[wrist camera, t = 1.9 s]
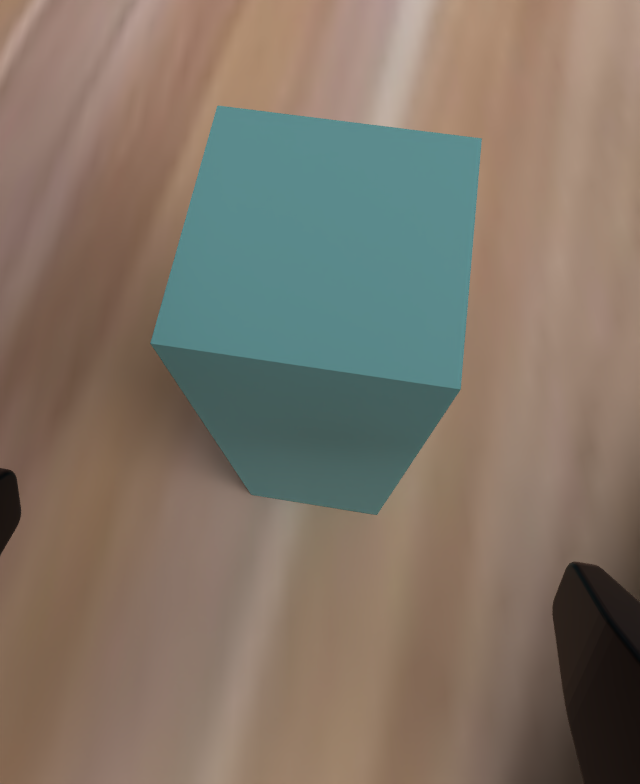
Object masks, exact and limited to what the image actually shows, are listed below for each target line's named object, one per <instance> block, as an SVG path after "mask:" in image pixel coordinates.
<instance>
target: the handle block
mask: <svg viewBox="0 0 640 784" xmlns="http://www.w3.org/2000/svg"><path fill="white" fill-rule="evenodd" d="M481 140H482V139H481V138H473V137H465V136H457V135H449V134H441V133H433V132H425V131H417V130H409V129H401V128H393V127H385V126H377V125H369V124H361V123H353V122H345V121H337V120H329V119H321V118H313V117H305V116H297V115H289V114H281V113H273V112H265V111H256V110H248V109H240V108H232V107H224V106H217V109H216V113H215V116H214V120H213V123H212V127H211V131H210V134H209V138H208V141H207V145H206V148H205V152H204V155H203V159H202V162H201V166H200V170H199V173H198V177H197V180H196V184H195V187H194V191H193V194H192V198H191V201H190V205H189V208H188V212H187V216H186V219H185V223H184V226H183V230H182V233H181V237H180V240H179V244H178V247H177V251H176V255H175V258H174V262H173V265H172V269H171V272H170V276H169V279H168V283H167V286H166V290H165V293H164V297H163V301H162V304H161V308H160V311H159V315H158V318H157V322H156V325H155V329H154V332H153V336H152V340H151V343H150V344H151V345H152V347H153V348H154V350H155V351H156V353H157V354H158V356H159V357H160V359H161V360H162V362H163V363H164V365H165V366H166V368H167V369H168V371H169V372H170V374H171V375H172V377H173V378H174V380H175V381H176V383H177V384H178V386H179V387H180V389H181V390H182V392H183V393H184V395H185V396H186V398H187V399H188V401H189V402H190V404H191V405H192V407H193V408H194V410H195V411H196V413H197V414H198V416H199V417H200V419H201V420H202V422H203V423H204V425H205V426H206V428H207V429H208V431H209V432H210V434H211V435H212V437H213V438H214V440H215V441H216V443H217V444H218V446H219V447H220V449H221V450H222V452H223V453H224V455H225V456H226V458H227V459H228V461H229V462H230V464H231V465H232V467H233V468H234V470H235V471H236V473H237V474H238V476H239V477H240V479H241V480H242V482H243V483H244V485H245V486H246V488H247V489H248V490H249V492H250V493H251V495H256V496H262V497H269V498H275V499H281V500H287V501H293V502H300V503H306V504H312V505H318V506H324V507H331V508H337V509H343V510H349V511H355V512H362V513H368V514H374V515H377V514H378V512H379V511H380V509H381V508H382V506H383V505H384V503H385V502H386V500H387V499H388V497H389V496H390V494H391V493H392V491H393V490H394V488H395V487H396V485H397V484H398V482H399V481H400V479H401V478H402V476H403V475H404V473H405V472H406V470H407V469H408V467H409V466H410V464H411V463H412V461H413V460H414V458H415V457H416V455H417V454H418V452H419V451H420V449H421V448H422V446H423V445H424V443H425V442H426V440H427V439H428V437H429V436H430V434H431V433H432V431H433V430H434V428H435V427H436V425H437V424H438V422H439V421H440V419H441V418H442V416H443V415H444V413H445V412H446V410H447V409H448V407H449V406H450V404H451V403H452V401H453V400H454V398H455V397H456V395H457V394H458V392H459V391H460V389H461V378H462V366H463V354H464V342H465V330H466V318H467V307H468V295H469V283H470V271H471V259H472V247H473V235H474V223H475V211H476V200H477V188H478V176H479V164H480V152H481Z"/></svg>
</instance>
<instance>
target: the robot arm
mask: <svg viewBox="0 0 640 784" xmlns="http://www.w3.org/2000/svg"><path fill="white" fill-rule="evenodd" d="M20 517H21V505H20V498H19V491H18V484H17V478H16V475H15V473H14V472H13V471H11V470H9V469H3V468H0V555H1V553H2V551H3V550H4V548H5V546H6V545H7V543H8V541H9V539H10V538H11V536H12V534H13V533H14V531H15V529H16V527H17V525H18V523H19V521H20ZM553 621H554V629H555V636H556V643H557V650H558V658H559V665H560V672H561V679H562V687H563V694H564V700H565V706H566V712H567V716H568V721H569V725H570V729H571V733H572V737H573V741H574V745H575V749H576V753H577V757H578V761H579V765H580V769H581V773H582V777H583V781H584V784H640V602H639V601H638V600H637V599H635V598H634V597H633V596H632V595H631V594H630V593H629V592H628V591H626V590H625V589H624V588H623V587H622V586H621V585H620V584H619V583H617V582H616V581H615V580H614V579H613V578H612V577H611V576H610V575H608V574H607V573H606V572H605V571H604V570H603V569H602V568H600V567H599V566H597V565H592V564H586V563H580V562H572V563H570V564H569V565H568V566H567V568H566V570H565V573H564V575H563V578H562V580H561V583H560V585H559V588H558V590H557V593H556V596H555V598H554V602H553Z"/></svg>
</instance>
